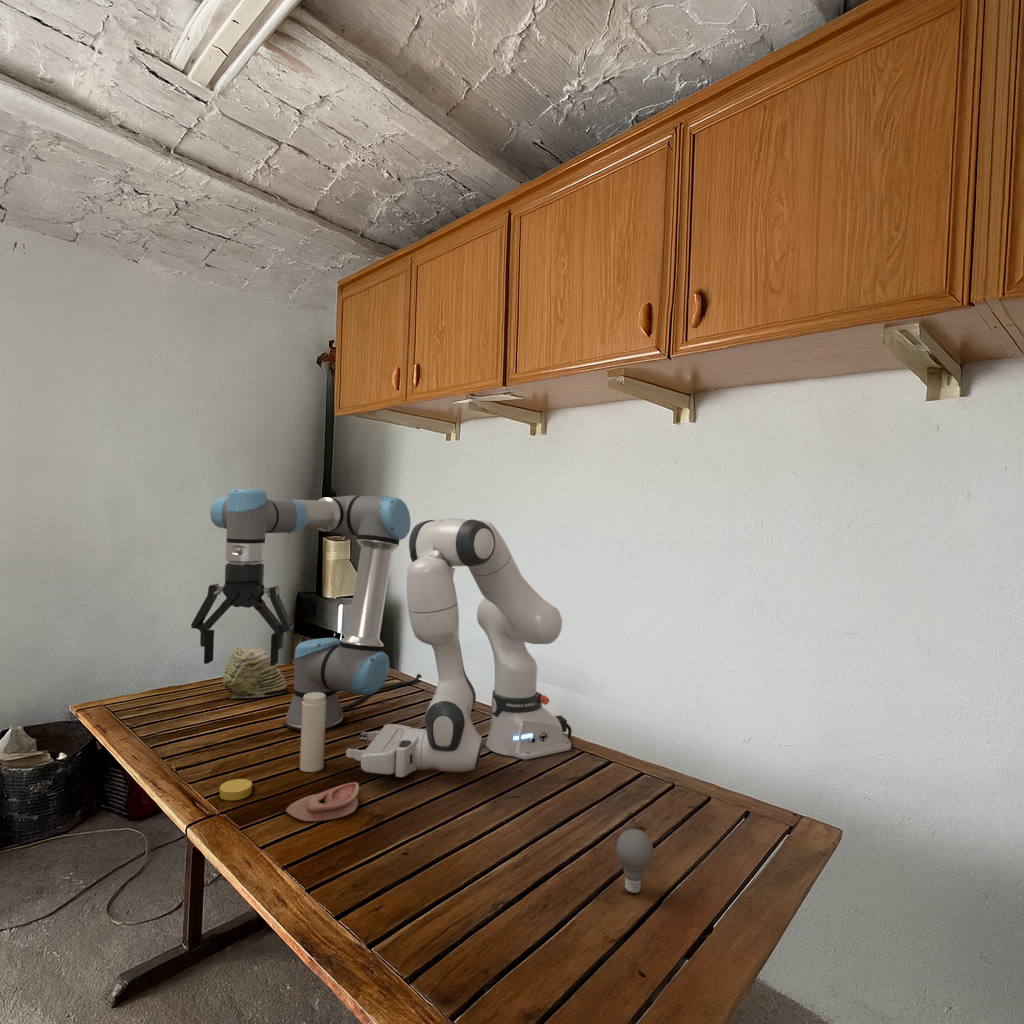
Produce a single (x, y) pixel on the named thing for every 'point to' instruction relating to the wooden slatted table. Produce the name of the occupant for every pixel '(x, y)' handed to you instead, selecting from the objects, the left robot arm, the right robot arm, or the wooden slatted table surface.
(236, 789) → the lid
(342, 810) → the anatomical model
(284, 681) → the fossil
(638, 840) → the light bulb
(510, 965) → the wooden slatted table surface
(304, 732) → the jar
